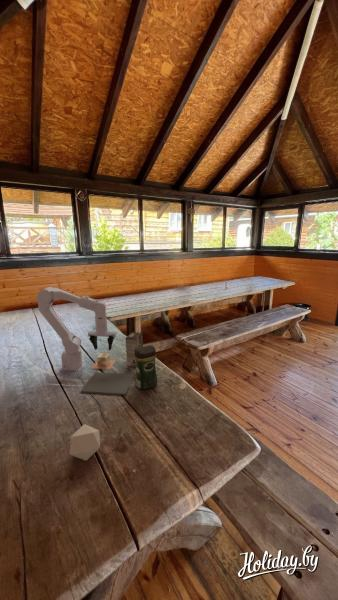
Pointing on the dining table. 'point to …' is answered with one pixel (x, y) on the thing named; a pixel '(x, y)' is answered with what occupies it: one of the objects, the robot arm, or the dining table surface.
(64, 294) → the robot arm
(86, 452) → the die
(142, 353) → the coffee jar
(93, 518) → the dining table surface
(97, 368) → the tile
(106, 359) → the birch block
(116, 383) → the mat
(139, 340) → the coffee box
